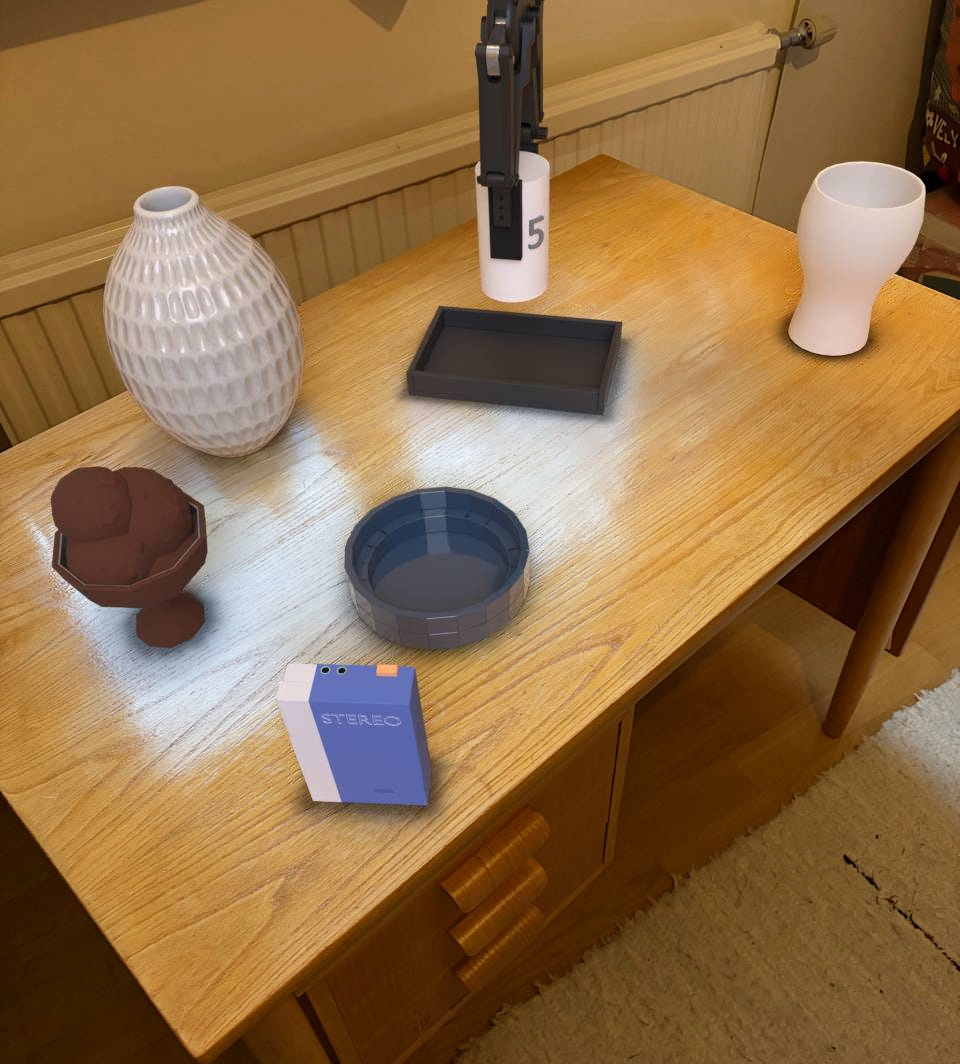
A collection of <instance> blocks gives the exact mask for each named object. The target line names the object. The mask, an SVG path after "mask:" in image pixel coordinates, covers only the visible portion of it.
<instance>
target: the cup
mask: <svg viewBox="0 0 960 1064" xmlns="http://www.w3.org/2000/svg"><path fill="white" fill-rule="evenodd" d="M926 193H927V191H926V185H925V184H924V182H923V181H922V179H921V178H920V177H918V176H917V175H916V174H914V173H913V172H911V171H909V170H906V169H904V168H903V167H899V166H896V165H892V164H890V163H889V164H888V163H883V162H877V161H846V162H842V163H836V164H833V165H831V166H828V167H825V168H824V169H823V170H821V171H819V172H818V173H817V175H816V176H815V177H814V180H813V182H812V183H811V186H810V188H809V190H808V192H807V194H806V196H805V198H804V201H803V202H802V204H801V209H800V213H799V218H798V222H797V228H796V242H797V256H798V260H799V263H800V266H801V270H802V274H803V283H802V290H801V297H800V300H799V301H798V303H797V306H796V308H795V311H794V313H793V314H792V317H791V320H790V323H789V325H788V329H787V330H788V332H787V333H788V336H789V338H790V340H792V342H793V343H794V345H797V346H798V347H800V348H801V349H803V350H805V351H808V352H810V353H814V354H817V355H818V354H819V355H822V356H832V357H833V356H836V357H837V356H845V355H850V354H853V353H855V352H858V351H860V350H861V349H862V348H864V347H865V346H866V343H867V342H868V338H869V332H870V327H871V318H872V309H873V306H874V304H875V303H876V302H875V301H876V300H877V298H878V295H879V294H880V291H881V289H882V288H883V287H884V285H885V284H886V283H887V282H888V281H890V279H891V278H892V277H894V275H895V274H896V273H897V272H898V271H899V270H900V269H901V267H902V265H903V264H904V262H905V261H906V259H907V258H908V257H909V255H910V253H911V252H912V250H913V249H914V248H915V247H914V246H915V245H916V243H917V240H918V237H919V235H920V231H921V228H922V225H923V223H924V215H925V206H926V205H925V204H926Z"/></svg>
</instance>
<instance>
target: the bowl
mask: <svg viewBox="0 0 960 1064" xmlns="http://www.w3.org/2000/svg"><path fill="white" fill-rule="evenodd" d="M530 551H531V549H530V544H529V538H528V532H527V530H526V528H525V526H524V525H523V522H521V520H520V519H519V517H518V516H517V514H516V513H515V511H513V510H512V509H510V508H509V507H508V506H507V505H505V504H504V503H502V501H500V500H499V499H498V498H496V497H493V496H489V495H487V494H485V493H481V492H480V491H476V490H474V489H469V488H461V487H455V486H454V487H453V486H437V487H436V486H435V487H425V488H417V489H414V490H410V491H407V492H404V493H400V494H398V495H394V496H391V497H390V498H388V499H387V500H385V501H383V502H381V503H380V504H378V505H376V506H375V507H373V508H371V509H370V510H369V511H368V512H367V513H366V514H365V515H363V517H362V518H361V519H360V520H359V521H358V522H357V523H356V524H355V525H354V526H353V528H352V530H351V533H350V535H349V537H348V539H347V541H346V543H345V546H344V560H343V561H344V564H343V565H344V566H343V567H344V571H345V576H346V581H347V584H348V588H349V589H348V590H349V593H350V597H351V600H352V603H353V605H354V607H355V610H356V612H357V614H358V616H359V618H360V619H361V620H362V621H363V622H364V623H365V624H366V625H367V626H368V627H370V629H372V631H374V632H375V633H376V634H377V635H378V636H379V637H380V636H381V637H383V638H384V639H387V640H389V641H391V642H393V643H396V644H398V645H400V646H403V647H409V648H416V649H422V650H428V651H429V650H431V651H433V650H444V649H453V648H462V647H466V646H468V645H470V644H471V645H472V644H473V643H476V642H479V641H482V640H484V639H488V638H489V637H490V636H492V635H493V634H495V633H496V632H498V631H499V630H501V629H502V628H503V627H505V626H506V625H508V624H509V623H510V622H511V621H512V620H513V618H514V617H515V616H516V614H517V613H518V612H519V610H520V609H521V608H522V606H523V605H524V604H525V601H526V598H527V594H528V590H529V586H530V583H531V582H530V581H531V574H530V573H531V558H530V557H531V555H530V554H531V553H530Z"/></svg>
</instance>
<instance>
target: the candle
mask: <svg viewBox="0 0 960 1064" xmlns="http://www.w3.org/2000/svg"><path fill="white" fill-rule="evenodd" d="M550 166H551V165H550V162H549V161H548V160H547V158H545V157H544V156H542V155H539V154H538V155H537V154H535V153H530V152H525V151H520V155H519V179H522V232H523V257H522V259H521V261H518V260H505V259H492V258H490V232H489V205H488V187H482V186H481V184H478V183H477V176H479V175H480V160H479V161H478V162H477V163H476V165H475V167H474V177H475V193H476V194H475V196H476V197H475V199H476V219H477V239H478V259H479V260H478V262H479V279H480V280H479V281H480V289H481V291H482V293H483V294H484V295H485V296H487V297H488V298H490V299H492V300H494V301H498V302H502V303H523V302H528V301H531V300H534V299H536V298H538V297H539V296H541V295H543V294H544V293H545V292H546V291H547V290H548V287H549V258H550V257H549V256H550V255H549V254H550V253H549V252H550V251H549V248H550V176H551V173H550V172H551V167H550Z"/></svg>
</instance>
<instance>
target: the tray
mask: <svg viewBox="0 0 960 1064" xmlns="http://www.w3.org/2000/svg"><path fill="white" fill-rule="evenodd" d="M622 332H623V321H619V320H617V321H616V320H608V319H595V318H586V317H585V318H584V317H574V316H573V317H572V316H561V315H552V314H551V315H549V314H539V313H528V312H527V313H526V312H516V311H505V310H494V309H481V308H471V307H459V306H448V305H438V307H437V309H436V311H435V313H434V315H433V317H432V319H431V321H430V323H429V325H428V327H427V330H426V332H425V334H424V335H423V338H422V340H421V341H420V344H419V346H418V348H417V350H416V353H415V354H414V356H413V358H412V361H411V362H410V365H409V366H408V369H407V371H406V381H407V389H408V395H409V396H419V397H426V398H427V397H428V398H437V399H447V400H455V401H466V402H473V403H484V404H493V405H502V406H512V407H521V408H528V409H529V408H530V409H540V410H547V411H548V410H550V411H559V412H567V413H577V414H587V415H595V416H596V415H597V416H604V415H605V411H606V410H605V409H606V405H607V402H608V397H609V393H610V390H611V389H610V388H611V385H612V381H613V377H614V373H615V368H616V364H617V360H618V356H619V353H620V352H619V351H620V348H621V343H622Z"/></svg>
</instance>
